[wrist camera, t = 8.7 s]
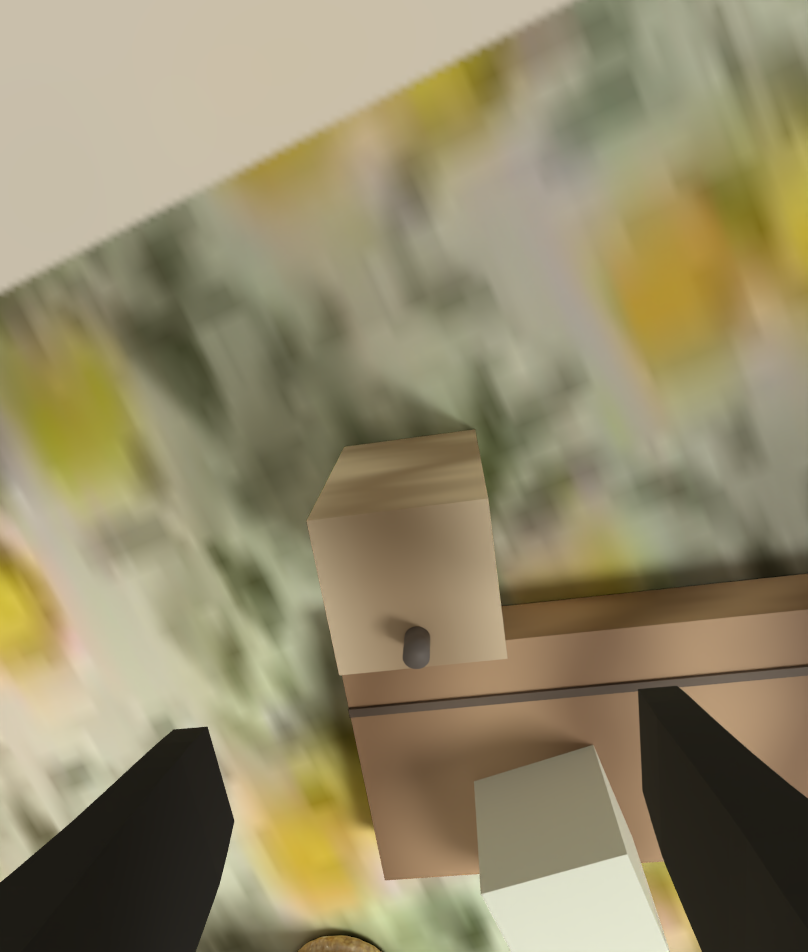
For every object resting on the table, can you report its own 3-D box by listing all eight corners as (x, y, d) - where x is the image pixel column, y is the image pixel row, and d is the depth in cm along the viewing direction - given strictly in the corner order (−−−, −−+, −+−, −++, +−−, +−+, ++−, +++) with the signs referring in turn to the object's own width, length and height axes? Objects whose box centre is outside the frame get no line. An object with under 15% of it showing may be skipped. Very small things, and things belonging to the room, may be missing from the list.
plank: (851, 568, 21) (895, 602, 19) (838, 799, 23) (875, 849, 21) (347, 622, 22) (337, 659, 20) (389, 832, 25) (384, 882, 23)
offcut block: (593, 744, 21) (627, 854, 17) (632, 838, 22) (672, 960, 18) (473, 781, 21) (481, 894, 18) (518, 870, 22) (533, 994, 19)
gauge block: (475, 429, 20) (490, 512, 13) (489, 550, 21) (510, 679, 15) (344, 446, 20) (299, 535, 14) (366, 564, 21) (333, 696, 15)
